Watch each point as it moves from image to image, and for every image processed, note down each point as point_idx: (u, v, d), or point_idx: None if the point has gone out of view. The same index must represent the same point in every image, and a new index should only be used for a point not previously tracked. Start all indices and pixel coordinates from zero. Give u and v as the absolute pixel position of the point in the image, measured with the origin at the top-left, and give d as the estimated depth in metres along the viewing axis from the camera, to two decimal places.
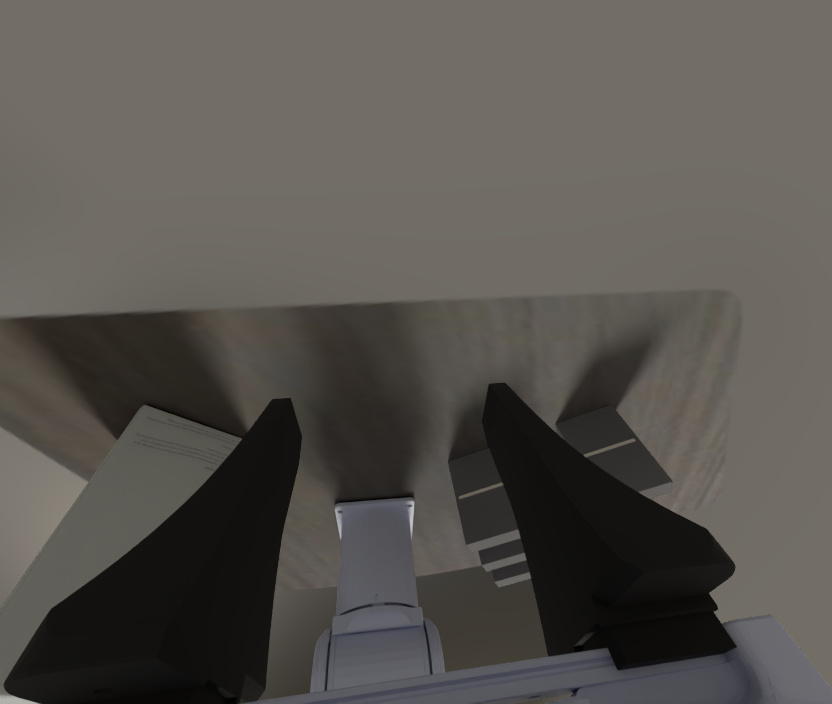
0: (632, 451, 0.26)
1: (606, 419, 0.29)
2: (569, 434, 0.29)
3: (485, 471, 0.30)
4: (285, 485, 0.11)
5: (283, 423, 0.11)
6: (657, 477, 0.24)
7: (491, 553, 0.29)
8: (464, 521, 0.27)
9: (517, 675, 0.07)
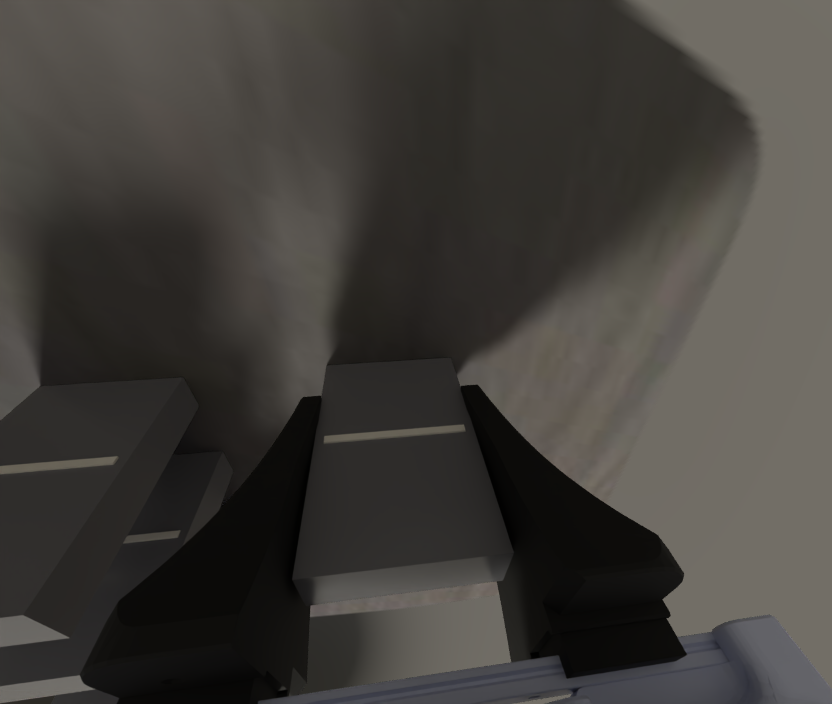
0: (448, 452, 0.10)
1: (428, 379, 0.13)
2: (338, 389, 0.12)
3: (93, 422, 0.11)
4: None
5: (316, 420, 0.11)
6: (479, 530, 0.08)
7: None
8: None
9: (517, 675, 0.07)
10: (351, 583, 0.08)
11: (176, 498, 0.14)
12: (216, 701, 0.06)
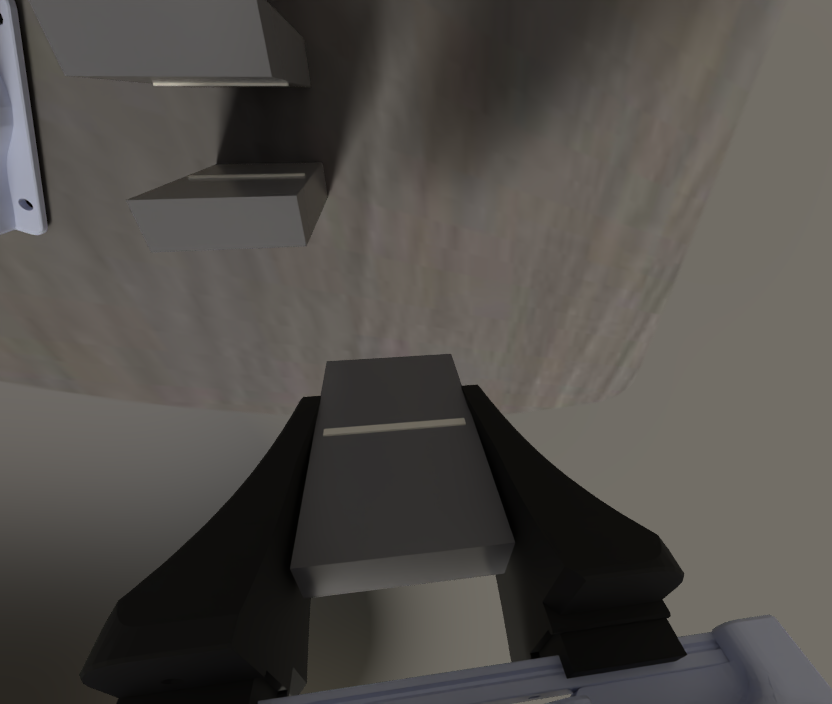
0: (448, 444, 0.10)
1: (428, 374, 0.13)
2: (338, 384, 0.12)
3: None
4: None
5: None
6: (480, 521, 0.08)
7: None
8: None
9: (517, 675, 0.07)
10: (350, 574, 0.08)
11: None
12: (216, 701, 0.06)
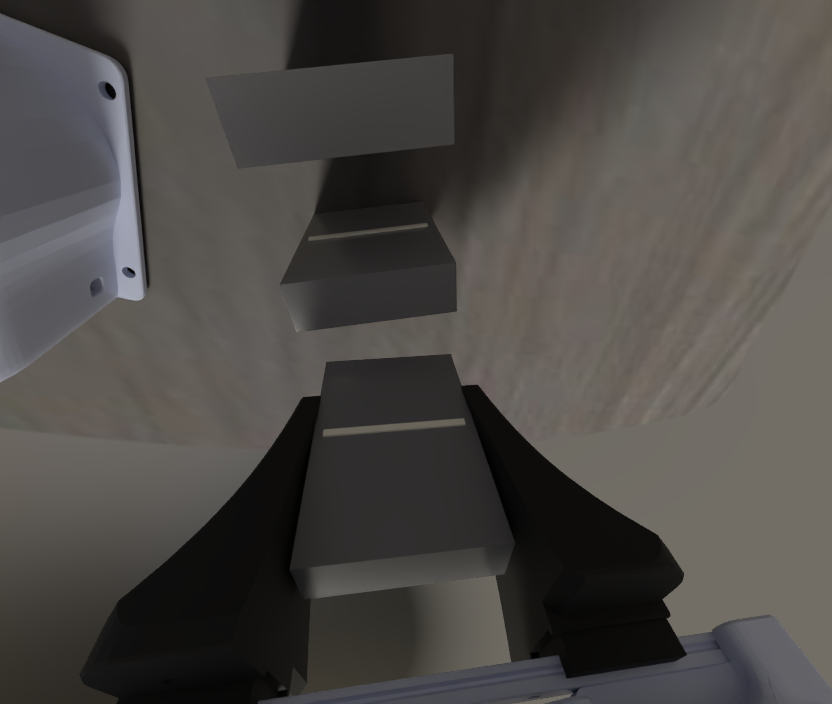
0: (448, 445, 0.10)
1: (428, 374, 0.13)
2: (338, 384, 0.12)
3: None
4: None
5: (316, 420, 0.11)
6: (480, 521, 0.08)
7: None
8: None
9: (516, 674, 0.07)
10: (350, 574, 0.08)
11: None
12: (216, 701, 0.06)
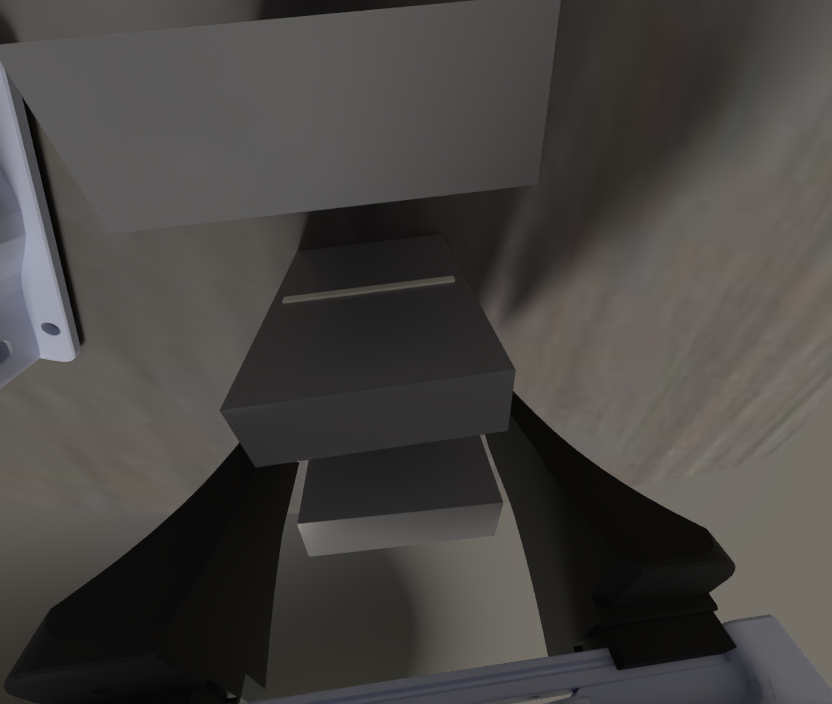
0: None
1: None
2: None
3: None
4: (285, 485, 0.11)
5: None
6: (471, 484, 0.09)
7: None
8: None
9: (516, 674, 0.07)
10: (352, 531, 0.08)
11: None
12: None
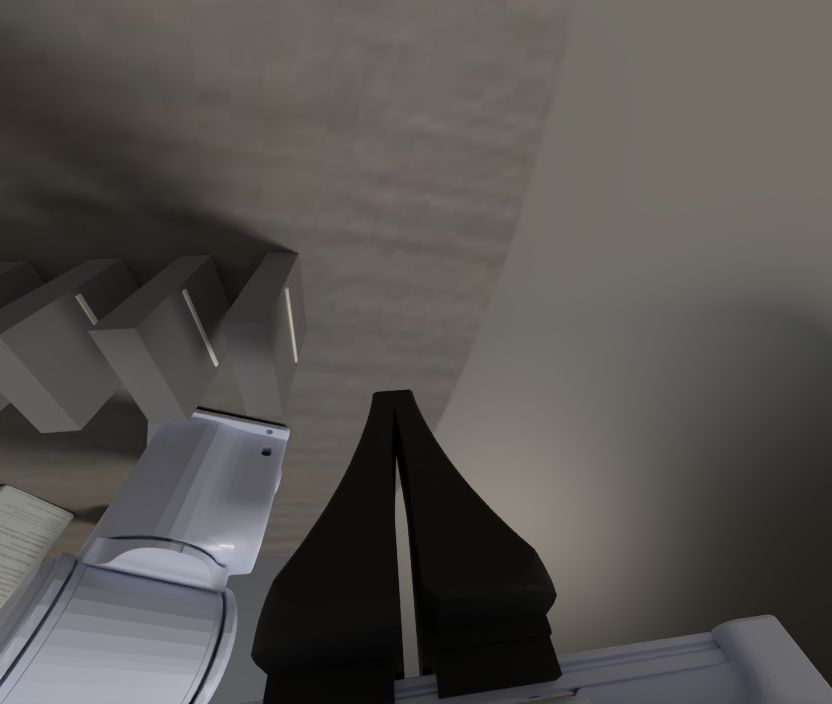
0: None
1: None
2: None
3: None
4: (394, 475, 0.11)
5: (394, 414, 0.11)
6: None
7: None
8: None
9: None
10: (255, 396, 0.15)
11: None
12: (361, 679, 0.06)
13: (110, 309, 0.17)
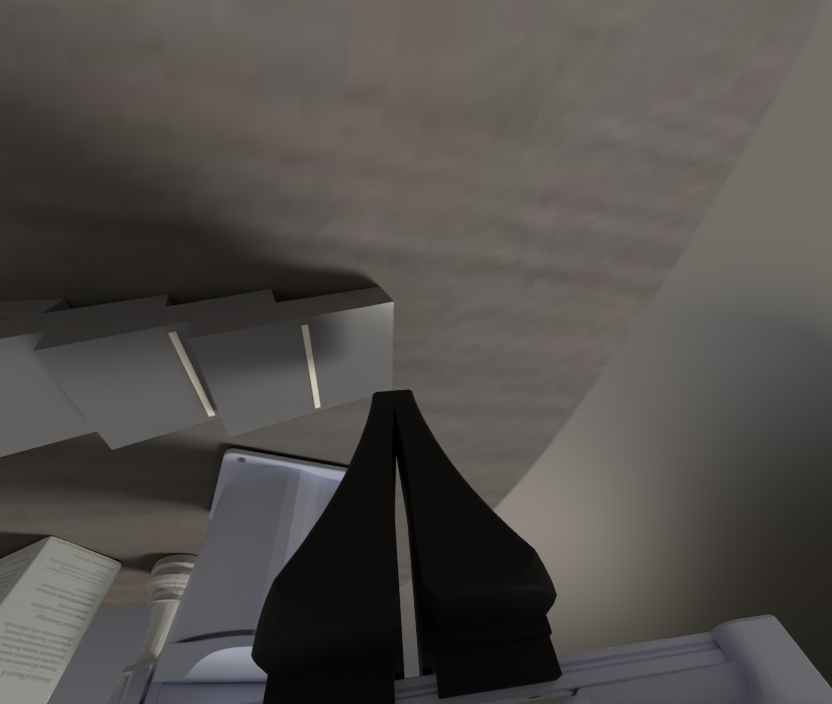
0: None
1: None
2: None
3: None
4: (394, 475, 0.11)
5: (393, 414, 0.11)
6: None
7: None
8: None
9: None
10: None
11: None
12: (361, 679, 0.06)
13: None
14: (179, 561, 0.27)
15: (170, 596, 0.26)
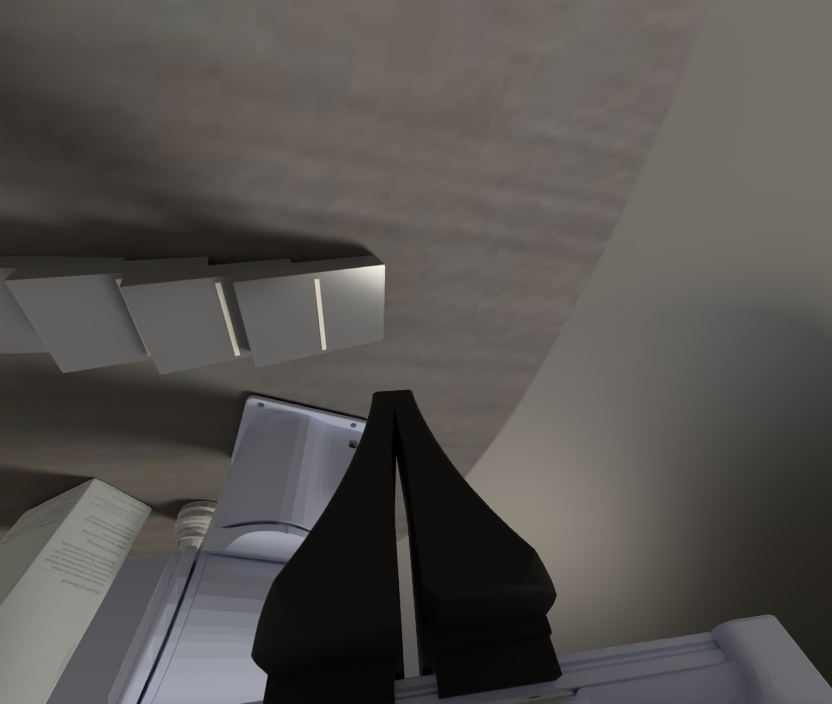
0: None
1: None
2: None
3: None
4: (394, 475, 0.11)
5: (393, 414, 0.11)
6: None
7: None
8: None
9: None
10: None
11: None
12: (361, 679, 0.06)
13: None
14: (202, 506, 0.31)
15: (195, 534, 0.29)
